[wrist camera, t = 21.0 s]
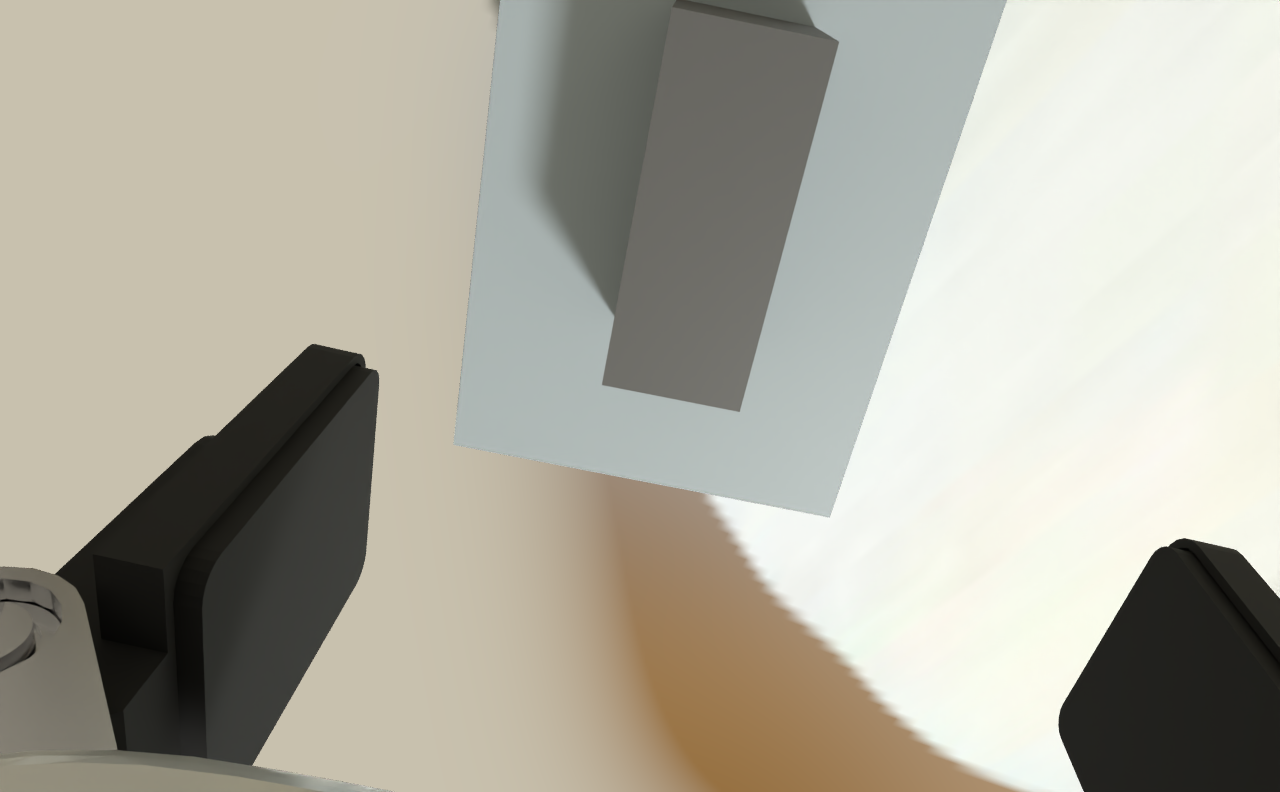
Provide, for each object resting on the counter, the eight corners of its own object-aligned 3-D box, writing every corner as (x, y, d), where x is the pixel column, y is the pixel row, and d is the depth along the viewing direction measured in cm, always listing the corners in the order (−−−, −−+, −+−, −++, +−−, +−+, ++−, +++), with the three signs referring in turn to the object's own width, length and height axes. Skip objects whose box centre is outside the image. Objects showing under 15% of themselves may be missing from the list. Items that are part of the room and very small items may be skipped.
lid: (822, 485, 34) (849, 607, 28) (467, 416, 34) (413, 523, 28) (1039, -172, 25) (1159, -218, 18) (545, -278, 24) (487, -363, 18)
